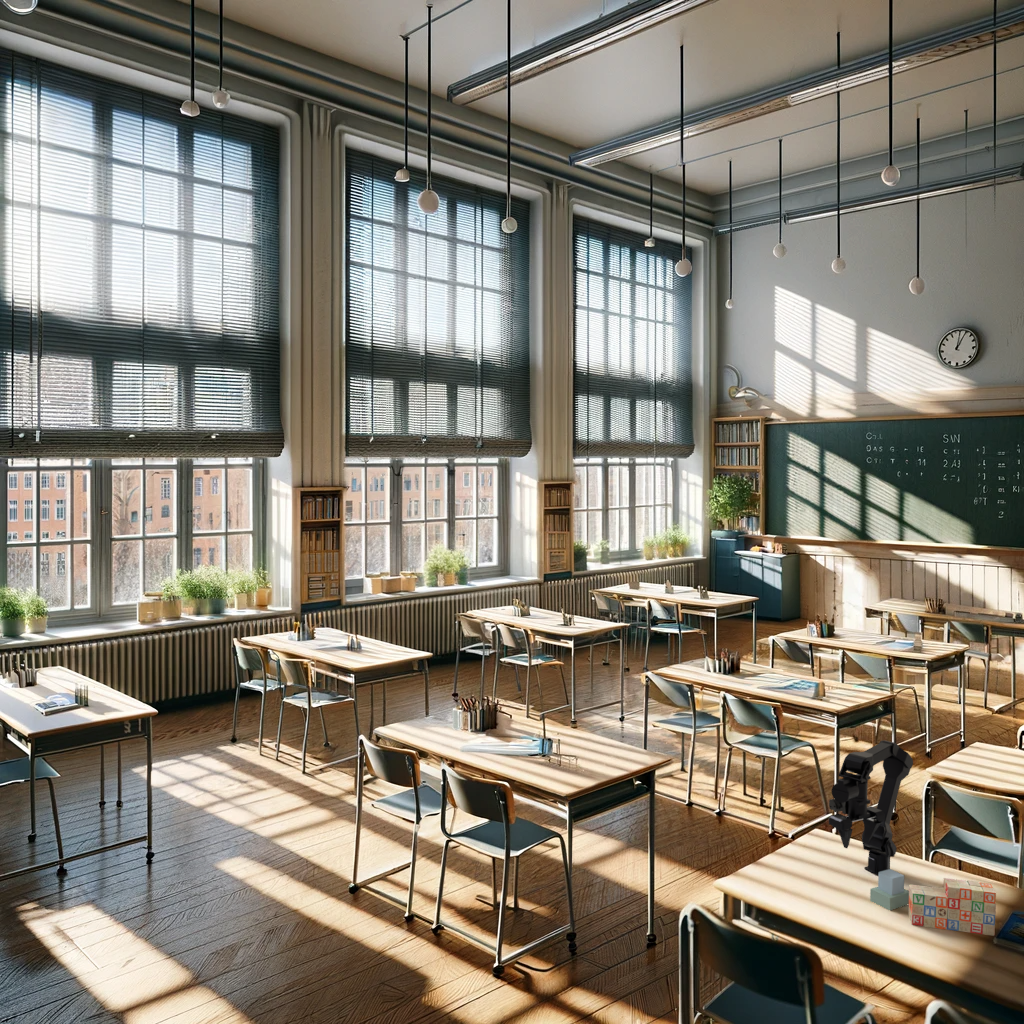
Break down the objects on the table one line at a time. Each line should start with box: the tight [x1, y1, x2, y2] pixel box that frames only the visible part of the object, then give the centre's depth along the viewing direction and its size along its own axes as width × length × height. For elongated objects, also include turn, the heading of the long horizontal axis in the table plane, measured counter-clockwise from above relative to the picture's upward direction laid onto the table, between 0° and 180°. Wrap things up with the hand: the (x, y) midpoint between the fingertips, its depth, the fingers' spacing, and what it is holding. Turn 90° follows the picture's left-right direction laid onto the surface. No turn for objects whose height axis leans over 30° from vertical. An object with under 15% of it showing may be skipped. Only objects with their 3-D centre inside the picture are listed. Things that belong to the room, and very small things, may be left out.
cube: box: [877, 868, 905, 895], centre depth 275 cm, size 5×5×5 cm
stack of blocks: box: [908, 877, 997, 937], centre depth 261 cm, size 21×6×12 cm, turn 75°
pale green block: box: [869, 886, 909, 911], centre depth 275 cm, size 9×7×4 cm
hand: (856, 845), depth 287 cm, fingers open, 9 cm apart
